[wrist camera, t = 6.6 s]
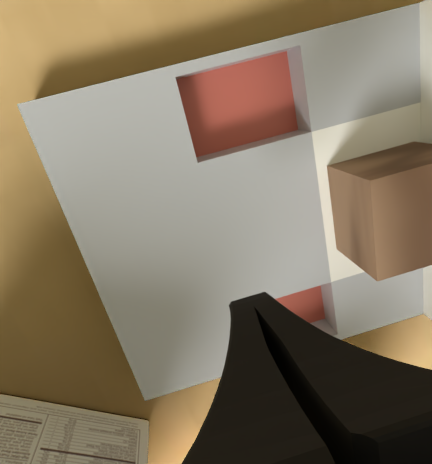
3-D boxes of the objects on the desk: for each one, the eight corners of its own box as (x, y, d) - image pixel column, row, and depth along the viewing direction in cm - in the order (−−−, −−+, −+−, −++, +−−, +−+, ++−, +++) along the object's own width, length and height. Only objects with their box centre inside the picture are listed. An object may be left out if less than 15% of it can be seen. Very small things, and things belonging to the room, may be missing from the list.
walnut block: (414, 141, 18) (478, 150, 15) (415, 225, 20) (473, 252, 16) (326, 165, 18) (370, 180, 14) (336, 249, 20) (377, 281, 16)
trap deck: (409, 9, 18) (497, -26, 13) (416, 294, 25) (476, 337, 20) (32, 104, 17) (-16, 103, 12) (146, 377, 23) (142, 444, 19)
